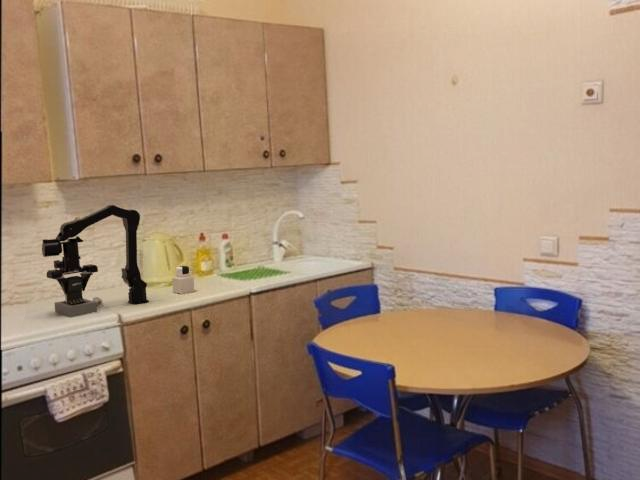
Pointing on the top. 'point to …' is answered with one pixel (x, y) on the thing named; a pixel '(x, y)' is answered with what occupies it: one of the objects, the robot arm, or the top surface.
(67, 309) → the grey open box
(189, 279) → the grey stepped upright block
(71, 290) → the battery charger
